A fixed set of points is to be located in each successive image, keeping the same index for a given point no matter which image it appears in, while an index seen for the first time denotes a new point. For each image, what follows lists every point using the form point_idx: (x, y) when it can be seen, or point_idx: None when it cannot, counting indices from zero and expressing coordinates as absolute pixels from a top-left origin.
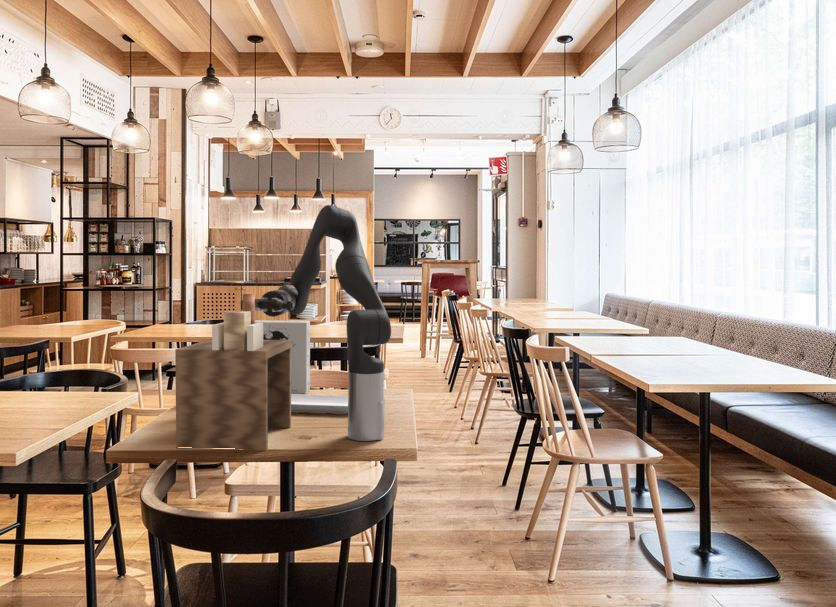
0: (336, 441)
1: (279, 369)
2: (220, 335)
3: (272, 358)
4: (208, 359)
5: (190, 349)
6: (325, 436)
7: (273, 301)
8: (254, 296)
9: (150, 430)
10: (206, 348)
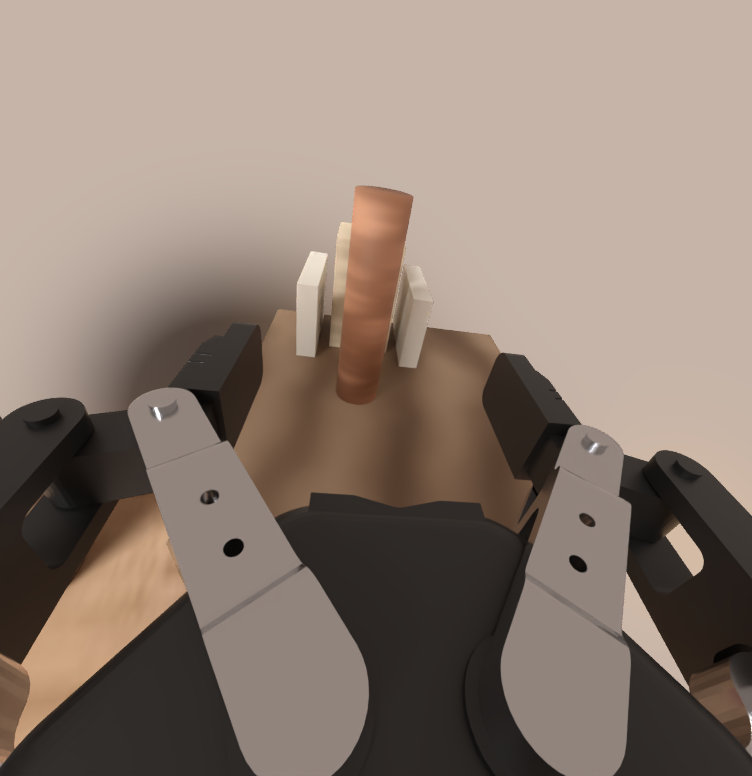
0: (128, 527)
1: None
2: (399, 297)
3: None
4: None
5: (459, 333)
6: (142, 570)
7: (296, 517)
8: (354, 201)
9: None
10: (434, 341)
